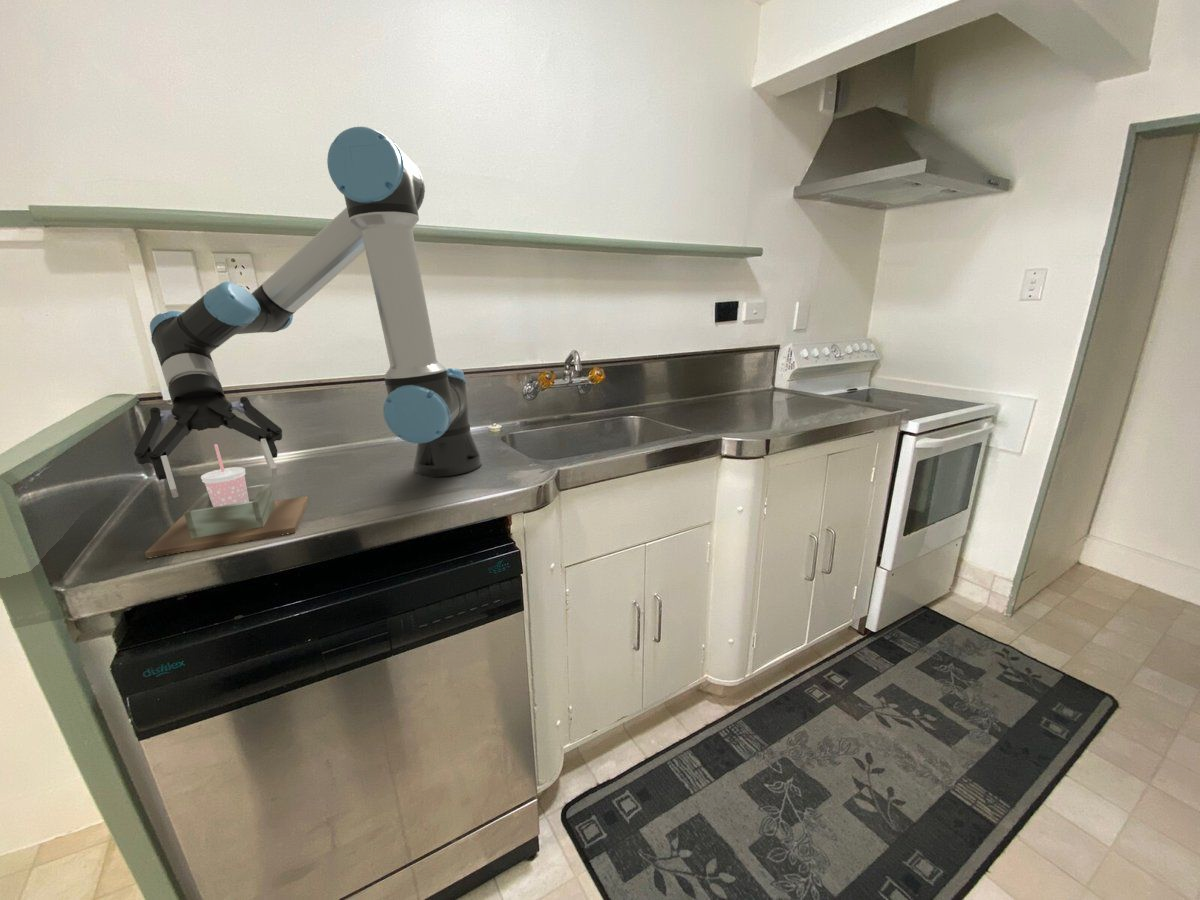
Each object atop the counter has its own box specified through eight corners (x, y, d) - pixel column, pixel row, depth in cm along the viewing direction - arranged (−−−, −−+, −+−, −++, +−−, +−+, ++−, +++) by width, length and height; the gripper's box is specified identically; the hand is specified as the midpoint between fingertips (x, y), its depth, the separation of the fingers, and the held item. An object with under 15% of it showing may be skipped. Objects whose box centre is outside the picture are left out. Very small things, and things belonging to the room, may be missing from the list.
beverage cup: (221, 517, 87) (200, 442, 83) (261, 511, 89) (242, 437, 85) (208, 531, 82) (186, 451, 78) (251, 524, 84) (231, 446, 80)
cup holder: (308, 500, 96) (302, 474, 95) (295, 532, 82) (288, 502, 81) (184, 520, 89) (176, 492, 88) (146, 559, 75) (135, 526, 73)
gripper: (274, 389, 99) (308, 475, 92) (104, 408, 83) (131, 514, 76) (274, 364, 94) (310, 453, 87) (92, 380, 77) (120, 491, 71)
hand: (227, 482), depth 82 cm, fingers open, 13 cm apart
